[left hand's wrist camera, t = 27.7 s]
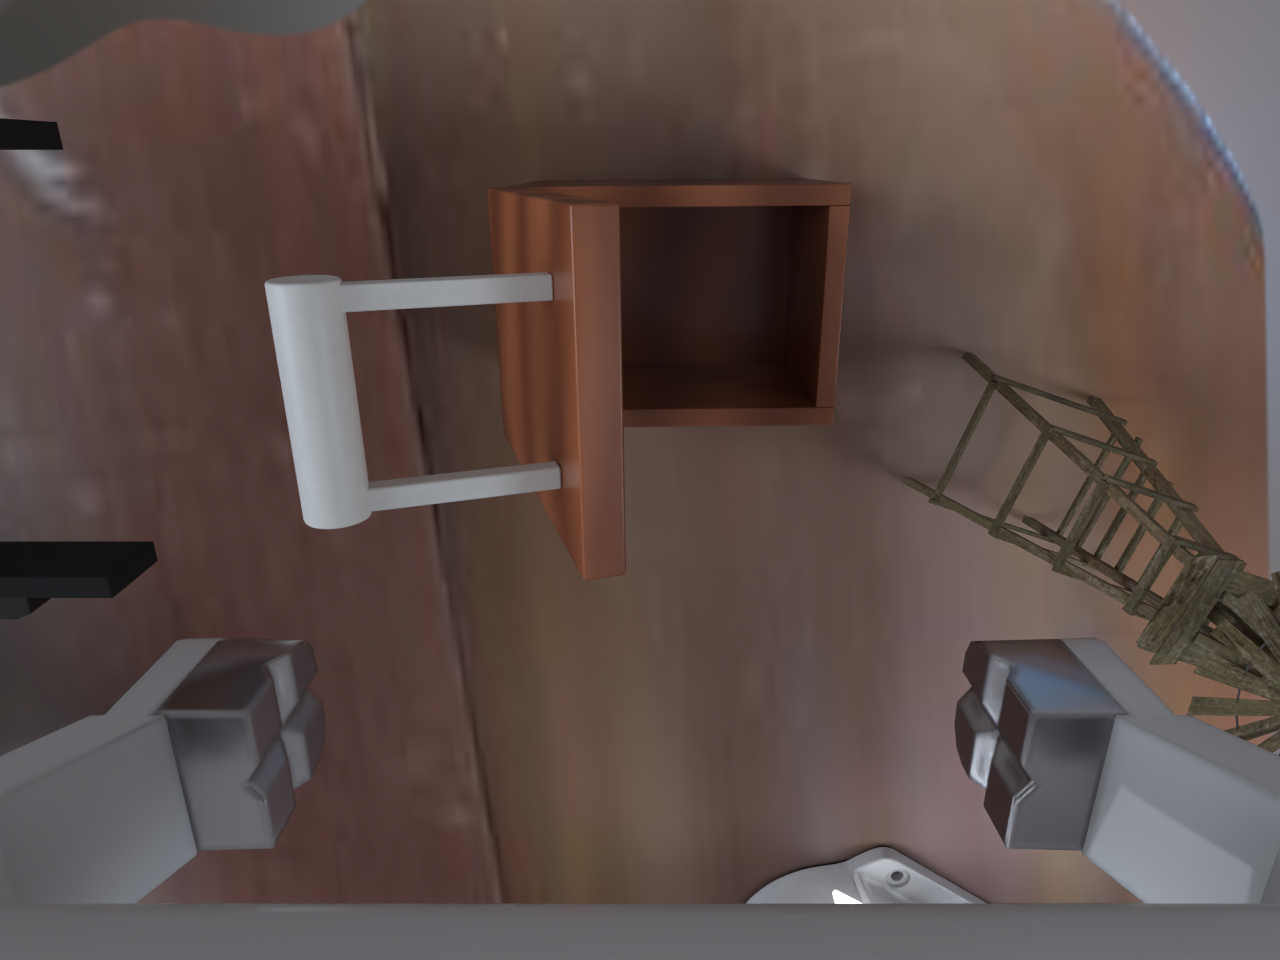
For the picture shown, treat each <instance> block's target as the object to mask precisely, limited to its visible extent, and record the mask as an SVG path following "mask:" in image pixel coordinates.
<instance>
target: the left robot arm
mask: <svg viewBox="0 0 1280 960" xmlns="http://www.w3.org/2000/svg"><path fill="white" fill-rule="evenodd" d="M317 671H318V670H317V665H316V660H315V655H314V650H313V647H312V646H311V645H310V644H309V643H308V642H307V641H306V640H282V639H232V638H228V639H223V638H187V639H182V640H177V641H176V642H175V643H174V644H173V645H172V646H171V647H170V648H169V649H168V650H167V651H166V652H165V653H164V654H163V655H162V656H161V657H160V659H159V660H158V661H157V662H156V663H155V664H154V665H153V666H152V667H151V668H150V669H149V670H148V671H147V672H146V673H145V674H144V675H143V676H142V677H141V678H140V679H139V680H138V681H137V682H136V683H135V684H134V685H133V686H132V687H131V688H130V689H129V690H128V691H127V692H126V693H125V694H124V695H123V696H122V697H121V698H120V699H119V700H118V701H117V702H116V704H115V705H114V706H113V707H112V708H111V709H110V710H109V711H108V712H107V713H106V714H105V715H90V716H88V717H86V718H83V719H81V720H79V721H77V722H74V723H72V724H70V725H68V726H66V727H63V728H61V729H59V730H57V731H55V732H52V733H50V734H48V735H46V736H43V737H41V738H39V739H37V740H35V741H32V742H30V743H28V744H26V745H24V746H21V747H19V748H17V749H15V750H12V751H10V752H8V753H6V754H4V755H1V756H0V960H1280V756H1278V755H1276V754H1274V753H1272V752H1270V751H1267V750H1265V749H1263V748H1261V747H1258V746H1256V745H1254V744H1252V743H1250V742H1247V741H1245V740H1243V739H1241V738H1239V737H1236V736H1234V735H1232V734H1230V733H1228V732H1225V731H1223V730H1221V729H1219V728H1217V727H1214V726H1212V725H1210V724H1208V723H1205V722H1203V721H1201V720H1199V719H1197V718H1194V717H1192V716H1190V715H1175V714H1174V713H1173V712H1172V711H1171V710H1170V709H1169V708H1168V706H1167V705H1166V704H1165V703H1164V702H1163V701H1162V700H1161V699H1160V698H1159V697H1158V696H1157V695H1156V694H1155V693H1154V692H1153V691H1152V690H1151V689H1150V688H1149V687H1148V686H1147V685H1146V684H1145V683H1144V682H1143V681H1142V680H1141V679H1140V678H1139V677H1138V676H1137V675H1136V674H1135V673H1134V672H1133V671H1132V670H1131V669H1130V668H1129V667H1128V665H1127V664H1126V663H1125V662H1124V661H1123V660H1122V659H1121V658H1120V657H1119V656H1118V655H1117V654H1116V653H1115V652H1114V651H1113V650H1112V649H1111V648H1110V647H1109V646H1108V645H1107V644H1106V643H1105V642H1104V641H1101V640H1099V639H1096V638H1068V639H1038V640H998V641H971V642H970V645H969V647H968V649H967V651H966V653H965V659H964V665H963V670H962V671H963V673H964V674H965V676H966V677H967V679H968V681H969V682H970V684H971V686H972V687H971V688H970V689H969V690H968V691H967V692H966V693H965V694H964V695H963V696H962V697H961V698H960V699H959V701H958V702H957V709H956V718H955V735H956V746H957V750H958V753H959V757H960V760H961V763H962V765H963V767H964V769H965V771H966V773H967V775H968V777H969V779H970V780H972V781H973V782H975V783H976V784H978V785H979V786H981V787H982V788H984V789H986V794H985V800H984V807H985V809H986V811H987V813H988V815H989V817H990V818H991V820H992V822H993V824H994V826H995V828H996V830H997V831H998V833H999V835H1000V837H1001V839H1002V841H1003V842H1004V844H1005V846H1006V848H1013V849H1049V850H1083V852H1082V854H1083V855H1084V856H1086V857H1087V858H1088V859H1089V860H1091V861H1092V862H1093V863H1094V864H1096V865H1097V866H1098V867H1099V868H1101V869H1102V870H1103V871H1104V872H1106V873H1107V874H1108V875H1110V876H1111V877H1112V878H1113V879H1115V880H1116V881H1117V882H1118V883H1120V884H1121V885H1122V886H1123V887H1125V888H1126V889H1127V890H1128V891H1130V892H1131V893H1132V894H1133V895H1135V896H1136V897H1137V898H1139V899H1140V900H1141V901H1142V902H1144V903H986V902H984V901H983V900H981V899H979V898H977V897H976V896H974V895H972V894H971V893H969V892H967V891H965V890H964V889H962V888H960V887H958V886H957V885H955V884H953V883H951V882H950V881H948V880H946V879H944V878H943V877H941V876H939V875H938V874H936V873H934V872H932V871H931V870H929V869H927V868H925V867H924V866H922V865H920V864H918V863H917V862H915V861H913V860H911V859H910V858H908V857H906V856H905V855H903V854H901V853H899V852H898V851H896V850H894V849H892V848H889V847H878V848H874V849H871V850H868V851H866V852H864V853H862V854H859V855H857V856H855V857H853V858H851V859H849V860H847V861H845V862H841V863H837V864H832V865H825V866H818V867H812V868H807V869H803V870H800V871H796V872H793V873H790V874H788V875H785V876H783V877H781V878H779V879H777V880H775V881H773V882H771V883H770V884H768V885H766V886H765V887H763V888H762V889H761V890H759V891H758V892H757V893H756V894H754V895H753V896H752V897H751V898H750V899H749V900H748V901H747V902H746V904H411V903H137V902H138V901H139V900H140V899H142V898H143V897H144V896H146V895H147V894H148V893H149V892H151V891H152V890H153V889H154V888H156V887H157V886H158V885H159V884H161V883H162V882H163V881H164V880H166V879H167V878H168V877H170V876H171V875H172V874H173V873H175V872H176V871H177V870H178V869H180V868H181V867H182V866H183V865H185V864H186V863H187V862H189V861H190V860H191V859H192V858H194V857H195V856H196V855H197V854H198V852H197V850H230V849H265V848H274V846H275V844H276V843H277V841H278V839H279V837H280V835H281V833H282V831H283V830H284V828H285V826H286V824H287V822H288V820H289V819H290V817H291V815H292V813H293V811H294V809H295V807H296V800H295V794H294V790H295V789H296V788H298V787H299V786H301V785H302V784H304V783H305V782H307V781H308V780H310V779H311V777H312V775H313V773H314V771H315V769H316V767H317V765H318V763H319V761H320V757H321V753H322V748H323V744H324V739H325V715H324V708H323V702H322V701H321V699H320V698H319V697H318V696H317V695H316V694H315V693H314V692H313V691H312V690H311V689H310V688H309V687H308V686H309V684H310V682H311V681H312V679H313V677H314V676H315V674H316V673H317ZM896 871H897V872H896Z"/></svg>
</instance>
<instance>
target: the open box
mask: <svg viewBox="0 0 1280 960" xmlns="http://www.w3.org/2000/svg"><path fill="white" fill-rule="evenodd" d="M510 187H518V188H524V189H531V190H538V191H544V192H551V193H557V194H564V195H570V196H577V197H584V198H590V199H597V200H603V201H610V202H616V203H619V206H620V258H621V317H622V376H623V427H665V426H779V425H833V422H834V407H835V397H836V384H837V371H838V358H839V345H840V332H841V319H842V306H843V293H844V280H845V266H846V253H847V240H848V227H849V214H850V206H849V205H850V200H851V187H852V185H851V184H849V183H840V182H831V181H822V180H813V179H724V180H622V181H534V182H529V183H524V184H519V185H514V186H510ZM506 188H508V187H506Z"/></svg>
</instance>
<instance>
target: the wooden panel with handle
mask: <svg viewBox="0 0 1280 960" xmlns="http://www.w3.org/2000/svg"><path fill="white" fill-rule="evenodd" d="M487 196H488V210H489V225H490V239H491V253H492V267H493V275H475V276H454V277H432V278H411V279H390V280H369V281H348V282H342V281H341V279H340V278H339V277H337V276H332V275H298V276H287V277H279V278H274V279H270V280H268V281H266V282H265V290H266V296H267V302H268V308H269V314H270V320H271V326H272V332H273V338H274V344H275V350H276V356H277V362H278V368H279V374H280V380H281V386H282V392H283V398H284V404H285V410H286V416H287V422H288V428H289V435H290V441H291V447H292V453H293V459H294V465H295V471H296V477H297V483H298V489H299V495H300V501H301V507H302V513H303V519H304V522H305V523H306V524H307V525H308V526H310V527H313V528H318V529H337V528H344V527H348V526H352V525H355V524H358V523H360V522H363V521H364V520H366V519H367V518H369V517H370V515H371V513H372V511H380V510H388V509H396V508H404V507H413V506H421V505H429V504H437V503H446V502H454V501H462V500H471V499H479V498H487V497H495V496H504V495H512V494H520V493H528V492H536V493H537V494H538V496H539V498H540V500H541V502H542V504H543V505H544V507H545V509H546V511H547V513H548V515H549V516H550V518H551V520H552V522H553V524H554V526H555V527H556V529H557V531H558V533H559V535H560V537H561V539H562V540H563V542H564V544H565V546H566V548H567V550H568V551H569V553H570V555H571V557H572V559H573V561H574V562H575V564H576V566H577V568H578V570H579V572H580V573H581V575H582V577H583V579H584V580H592V579H599V578H605V577H612V576H618V575H624V574H625V573H626V552H625V493H624V434H623V376H622V317H621V258H620V206H619V203H616V202H610V201H603V200H597V199H590V198H584V197H577V196H570V195H564V194H557V193H551V192H544V191H538V190H531V189H524V188H518V187H508V188H488V189H487ZM481 304H495V310H496V324H497V338H498V353H499V367H500V381H501V395H502V410H503V424H504V434H505V436H506V437H507V439H508V441H509V443H510V445H511V447H512V448H513V450H514V452H515V454H516V456H517V458H518V459H519V461H520V463H521V465H516V466H507V467H498V468H489V469H481V470H472V471H463V472H454V473H445V474H436V475H427V476H418V477H409V478H400V479H391V480H382V481H373V482H368V474H367V467H366V459H365V452H364V445H363V437H362V430H361V422H360V415H359V407H358V400H357V392H356V385H355V377H354V370H353V362H352V355H351V347H350V340H349V332H348V325H347V317H346V312H358V311H376V310H394V309H411V308H429V307H446V306H464V305H481Z"/></svg>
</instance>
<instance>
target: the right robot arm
mask: <svg viewBox="0 0 1280 960" xmlns="http://www.w3.org/2000/svg"><path fill="white" fill-rule="evenodd" d="M0 150H63V147H62V143H61V138H60V134H59V130H58V125H57V122H46V121H31V120H15V119H0ZM155 562H157V556H156V552H155V547H154V543H153V542H0V618H1V619H18V618H21V617H23V616H26V615H28V614H31V613H32V612H33V611H35V610H36V609H37V608H39V607H40V606H41V605H43V604H44V603H45V602H47V601H48V600H49V599H51V598H113V597H114V596H116V595H117V594H118V593H119V592H120V591H122V590H123V589H124V588H125V587H126V586H128V585H129V584H130V583H131V582H132V581H134V580H135V579H136V578H137V577H138V576H140V575H141V574H142V573H143V572H145V571H146V570H147V569H148V568H149V567H151V566H152V565H153V564H154V563H155Z"/></svg>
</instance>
